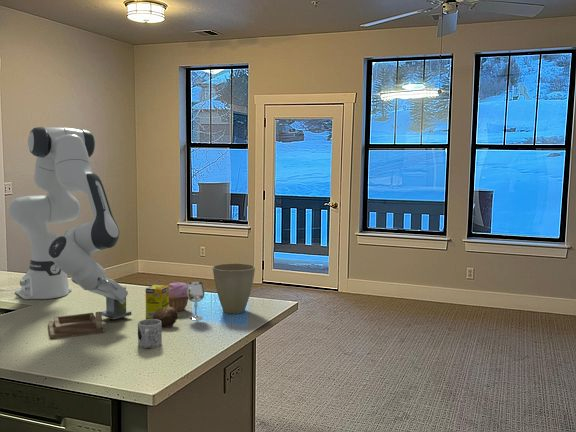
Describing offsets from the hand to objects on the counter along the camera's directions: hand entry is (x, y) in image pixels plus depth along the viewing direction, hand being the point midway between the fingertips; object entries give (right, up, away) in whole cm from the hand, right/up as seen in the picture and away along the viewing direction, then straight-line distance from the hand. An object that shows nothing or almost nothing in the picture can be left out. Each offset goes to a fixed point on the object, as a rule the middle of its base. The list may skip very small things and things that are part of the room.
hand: (117, 300), depth 189 cm
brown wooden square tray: (-10, -7, -12) cm, 17 cm away
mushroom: (+18, -7, -7) cm, 20 cm away
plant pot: (+38, -6, +11) cm, 40 cm away
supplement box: (+13, -6, 0) cm, 15 cm away
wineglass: (+26, -6, +2) cm, 27 cm away
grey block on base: (0, -5, 0) cm, 5 cm away
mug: (+17, -9, -27) cm, 34 cm away
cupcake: (+18, -5, +12) cm, 22 cm away
